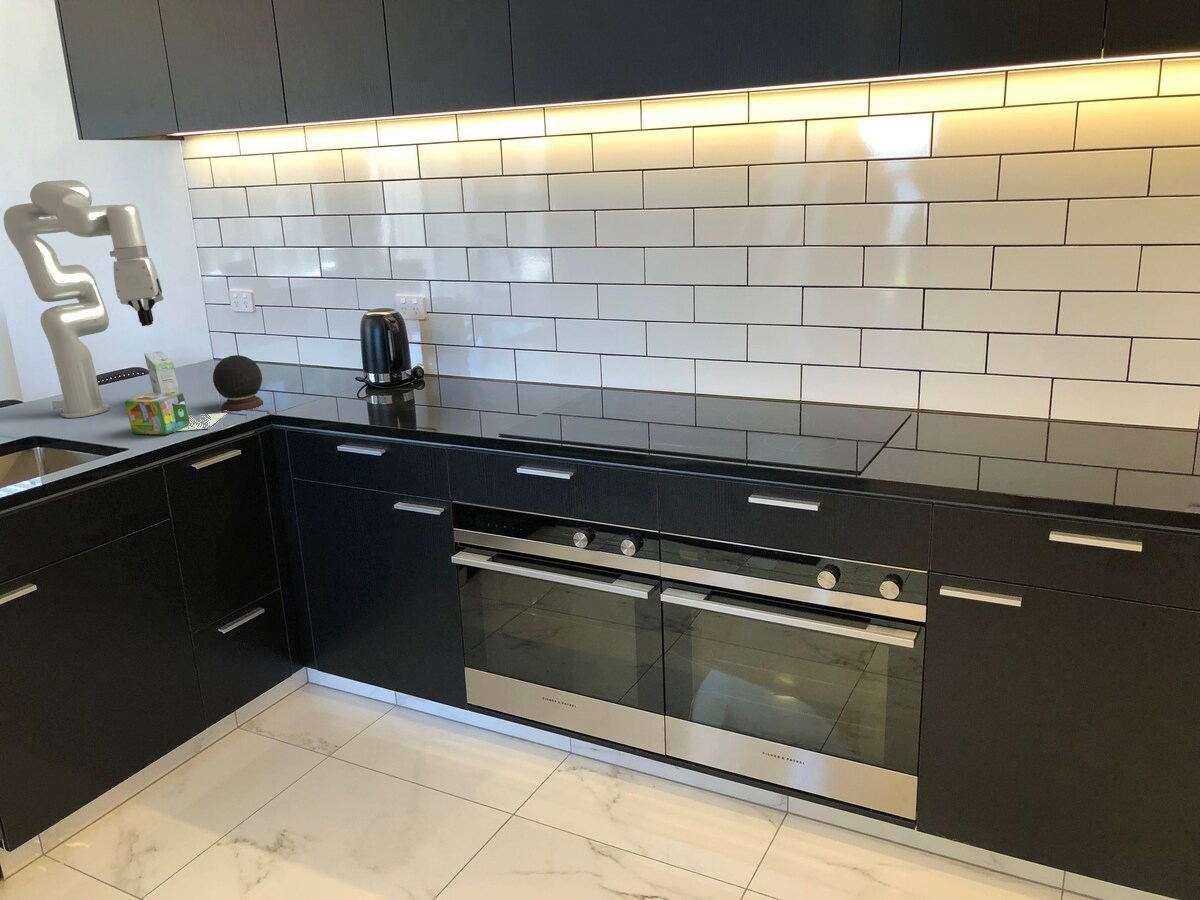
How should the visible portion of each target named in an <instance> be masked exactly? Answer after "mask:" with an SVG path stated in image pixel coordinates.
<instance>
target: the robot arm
mask: <svg viewBox="0 0 1200 900" xmlns="http://www.w3.org/2000/svg"><path fill="white" fill-rule="evenodd" d="M91 193H92V192H91V191H90V189H89V188H88V186H87V185H86V184H84V183H83V182H82V181H80V180H76V179H65V180H64V179H63V180H49V181H48V180H47V181H46V180H45V181H42V182H39V183H36V184H35V185H34V186H33V187H32V188H31V190H30V194H29V198H30V201H31V202H30V203H21V204H16V205H13V206H10V207H9V208H7V209H6V210H5V211H4V213H3V225H4V229H5V233H6V235H7V237H8V239H9V240H10V242H11V243H12V244H13V246H14V248H15V249H16V251H17V252H18V254H19V256H20V258H21V260H22V262H23V266H24V268H25V270H26V273H27V275H28V278H29V281H30V283H31V285H32V288H33V290H34V292H35V294H36V296H37V298H38V299H39V300H40V301H41V302H45V303H52V302H53V303H55V302H62V301H63V302H64V301H69V300H74V299H76V300H77V301H78V302H75V303H68V304H61V305H60V304H59V305H56V306H52V307H49V308H46V309H45V310H44V311H43V312H42V313H41V315H40V325H41V328H42V330H43V332H44V334H45V337H46V340H47V341H48V344H49V346H50V347H49V348H50V349H51V354H52V356H53V361H54V364H55V368H56V373H57V377H58V380H59V385H60V388H61V393H62V397H63V399H62V400H54V401H52V403H51V406H52V409H54V410H55V409H61V410H62V411H61V412H60V414H61V417H63V418H68V419H70V418H73V419H74V418H75V419H76V418H84V417H88V416H89V417H90V416H93V415H99V414H102V413H104V412H107V411H108V410H110V405H109V404H108V403H104V402H103V400H102V396H101V395H102V394H101V391H100V387H99V383H98V378H97V375H96V370H95V365H94V361H93V357H92V354H91V351H90V349H89V348H88V347H87V345H85V344H84V342H82V341H81V340H80V339H79V338H80V337H85V336H90V335H95V334H99V333H102V332H105V331H107V329H108V327H109V324H110V318H109V314H108V311H107V308H106V304H105V303H104V300H103V297H102V294H101V291H100V289H99V286H98V284H97V282H96V280H95V276H94V274H93V273H92V272H91V271H90V270H89V269H88V268H87V267H86V266H84V265H82V264H69V265H62V264H61V262H60V261H59V259H58V256H57V253H56V251H55V250H54V248H53V247H52V246H51V245H50V244H49V243H48V242H47V241H45V240H44V239H42V238H41V237H39V236H38V235H44V234H46V235H47V234H57V233H65V232H66V233H69V234H72V235H74V236H77V237H79V238H93V237H94V238H96V237H102V236H110V237H111V241H112V245H113V250H112V251H111V250H110V251H109V256H110V257H113V258H115V260H116V261H115V260H114V261H113V262H112V263H113V264H112V266H113V279H114V280H113V281H114V286H115V287H114V288H115V291H116V296H117V298H118V299H119V302H120V304H121V305H126V306H130V307H131V308H133V309H134V311H135V312H137V318H138V321H139V323H141V326H142V327H145V326H146V327H148V326H149V327H150V326H151V325H153V324H154V323H153V322H154V316H153V311H152V309H153V308H154V307H155V304H156V303H158V302H162V301H164V296H163V288H162V284H161V279H160V277H159V273H158V271H157V268H156V265H155V263H154V261H153V259H152V257H149V252H148V247H147V243H146V240H145V235H144V231H143V225H142V220H141V216H140V212H139V208H138V207H137V206H136V205H135V204H132V203H131V204H107V205H106V204H105V205H92V202H93V198H92V197H93V196H92V194H91Z"/></svg>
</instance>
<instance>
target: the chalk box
mask: <svg viewBox="0 0 1200 900" xmlns="http://www.w3.org/2000/svg"><path fill="white" fill-rule="evenodd" d="M124 405H125V409H126V412H127V413H126V414H127V417H128V420H129V425H130V428H131V432H132V434H140V435H142V434H143V435H147V434H149V435H168V434H171V433H172V432H174V431H176V430H178V429H181V428H184V427H186V426H188V425H189V424H190V421H189V416H190V415H189V413H188V408H187V404H186V400H185V395H184V393H182V392H180V393H154V392H153V393H152V392H151V393H146V394H142V395H140V396H136V397H133V398H131V399H127V400H125V401H124ZM174 433H175V432H174Z"/></svg>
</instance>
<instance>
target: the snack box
mask: <svg viewBox="0 0 1200 900" xmlns="http://www.w3.org/2000/svg"><path fill="white" fill-rule="evenodd" d="M144 358H145V364H146V368H147V370H148V375H149V380H150V385H151V387H152V391H153V393H181V392H180V390H179V389H180V388H179V385H178V384H179V383H178V379H177V376H176V374H177V373H176V371H175V366H174V362H173V360H172V359H170V357H168V356H167V354H165V353H164V352H163V351H162V350H159V351H158V350H157V351H151V352H148V353H147V352H145V353H144Z"/></svg>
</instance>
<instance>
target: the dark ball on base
mask: <svg viewBox="0 0 1200 900" xmlns="http://www.w3.org/2000/svg"><path fill="white" fill-rule="evenodd" d="M212 382H213V385H214V387H215V389H216V391H217V393H218V394H220V396H222V397H224V398H225V399H227V400H226V401H224V402H223V405H222V406H221V409H223V410H227V411H236V412H242V411H241V410H245V411H249V410H248V409H250V410H254V409H257V408H256V407H258V408H260V407H262V406H263V405H264V401H263V400H262V398H260V397H258V396H256V394H258V392H259V390H260V389H261V387H262V383H263V374H262V370H261V369H260V367H259V365H258V364H257V363H256V361H254V360H253V359H252V358H249V357H247V356H244V355H237V354H235V355H229V356H226V357H224V358H223V359H221V360H220V361H219V362H218V363H217V364H216V366H215V368H214V370H213V373H212ZM261 405H262V406H261ZM259 406H260V407H259ZM253 408H254V409H253ZM223 410H222V411H223ZM227 411H226V412H227Z"/></svg>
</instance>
